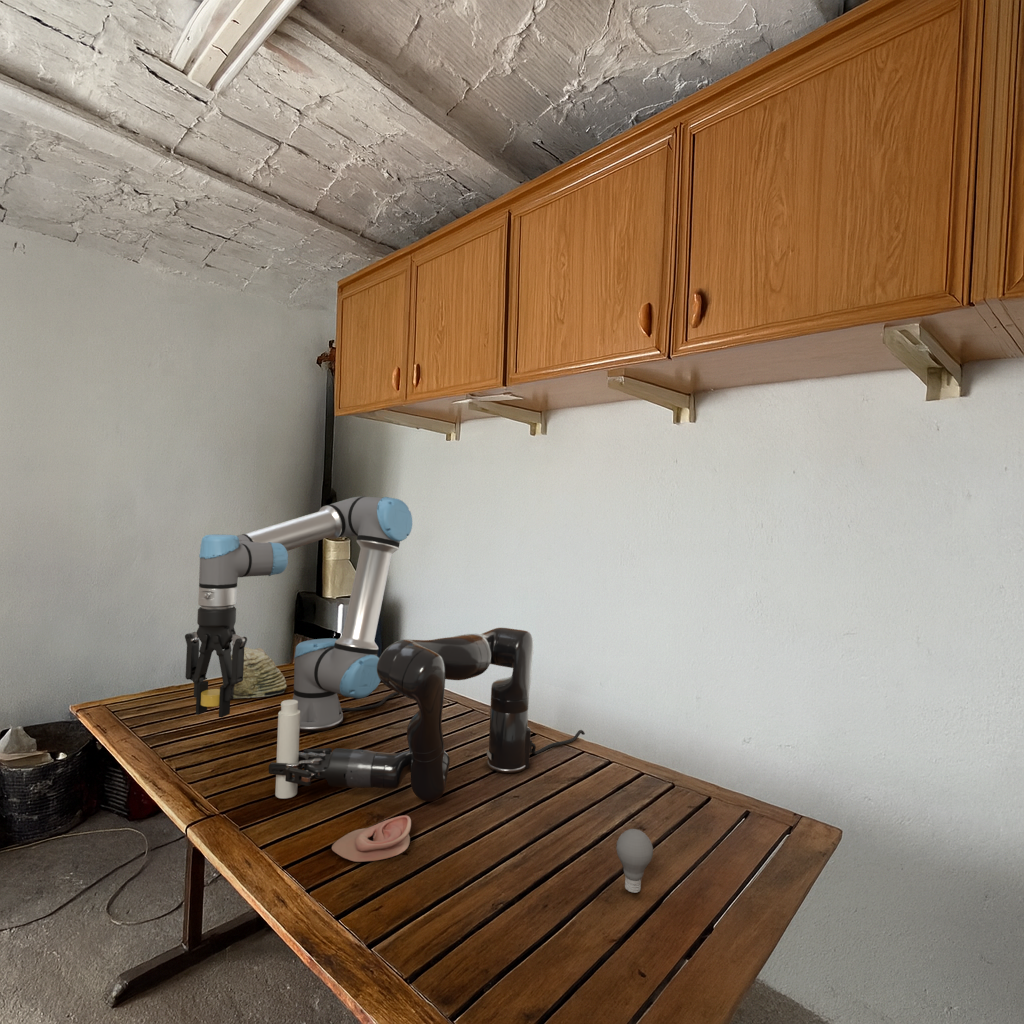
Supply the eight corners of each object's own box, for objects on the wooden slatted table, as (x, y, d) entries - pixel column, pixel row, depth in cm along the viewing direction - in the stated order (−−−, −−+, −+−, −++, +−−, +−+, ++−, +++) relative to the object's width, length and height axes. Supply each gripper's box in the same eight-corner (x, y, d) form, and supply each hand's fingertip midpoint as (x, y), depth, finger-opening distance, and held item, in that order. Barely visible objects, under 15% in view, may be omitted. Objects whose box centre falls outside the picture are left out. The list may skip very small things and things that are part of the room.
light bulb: (610, 879, 108) (613, 822, 108) (644, 879, 109) (647, 822, 109) (619, 902, 102) (622, 840, 102) (655, 901, 103) (658, 840, 103)
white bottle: (276, 789, 136) (280, 699, 136) (298, 788, 137) (301, 698, 137) (273, 799, 132) (277, 705, 131) (295, 798, 133) (299, 705, 132)
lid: (219, 707, 134) (219, 696, 134) (196, 706, 134) (196, 695, 134) (229, 700, 139) (229, 689, 139) (206, 699, 139) (207, 688, 139)
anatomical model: (323, 834, 111) (353, 804, 123) (323, 856, 111) (352, 824, 123) (394, 845, 109) (418, 814, 120) (393, 868, 109) (417, 834, 120)
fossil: (218, 695, 195) (220, 647, 195) (278, 685, 208) (279, 640, 207) (228, 703, 189) (230, 653, 188) (289, 692, 201) (290, 645, 201)
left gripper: (168, 605, 134) (163, 714, 135) (244, 612, 131) (239, 724, 131) (192, 600, 142) (188, 704, 142) (264, 607, 138) (260, 713, 139)
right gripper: (364, 738, 141) (288, 733, 141) (343, 764, 126) (260, 759, 127) (362, 771, 141) (287, 766, 142) (342, 802, 127) (258, 796, 127)
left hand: (212, 713), depth 137 cm, fingers closed on lid, 5 cm apart
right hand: (274, 763), depth 134 cm, fingers closed on white bottle, 4 cm apart
